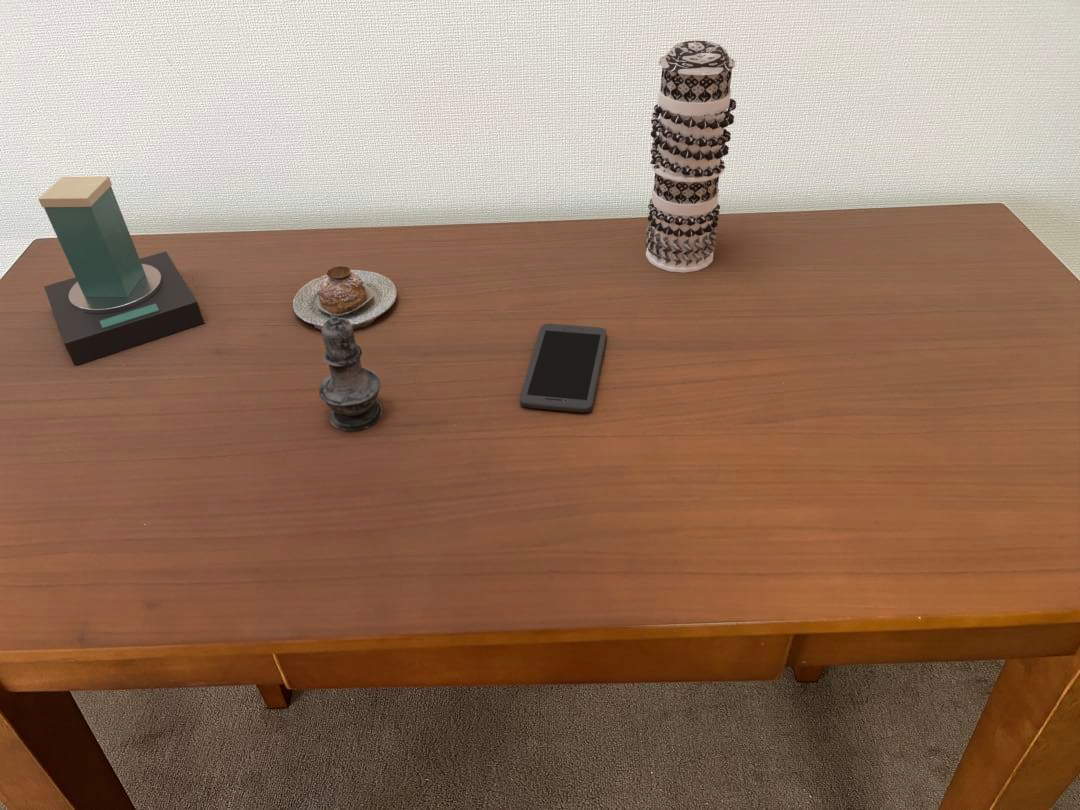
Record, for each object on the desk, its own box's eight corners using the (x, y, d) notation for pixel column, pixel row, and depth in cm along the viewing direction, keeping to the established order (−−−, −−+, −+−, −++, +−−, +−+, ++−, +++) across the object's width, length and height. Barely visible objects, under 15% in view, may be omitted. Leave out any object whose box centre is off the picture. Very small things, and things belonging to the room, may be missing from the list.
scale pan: (79, 324, 89) (76, 319, 89) (63, 284, 96) (61, 280, 96) (172, 295, 93) (170, 290, 93) (151, 258, 100) (149, 254, 100)
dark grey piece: (333, 440, 78) (306, 338, 71) (320, 404, 82) (294, 304, 75) (393, 423, 80) (373, 321, 72) (377, 388, 84) (357, 289, 76)
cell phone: (607, 332, 90) (607, 327, 90) (591, 414, 80) (591, 408, 79) (542, 327, 91) (541, 322, 91) (517, 407, 81) (517, 401, 81)
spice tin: (128, 297, 92) (87, 198, 84) (83, 297, 92) (37, 198, 85) (146, 273, 96) (108, 176, 88) (103, 273, 96) (61, 176, 89)
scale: (75, 366, 89) (63, 342, 87) (54, 307, 98) (43, 284, 96) (204, 323, 94) (196, 299, 92) (173, 271, 103) (165, 249, 101)
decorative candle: (722, 273, 99) (751, 60, 83) (646, 275, 100) (660, 62, 83) (711, 236, 106) (735, 33, 90) (639, 238, 107) (651, 35, 90)
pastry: (276, 303, 97) (267, 270, 94) (363, 267, 103) (357, 234, 100) (327, 347, 90) (318, 312, 87) (417, 305, 96) (412, 271, 93)
